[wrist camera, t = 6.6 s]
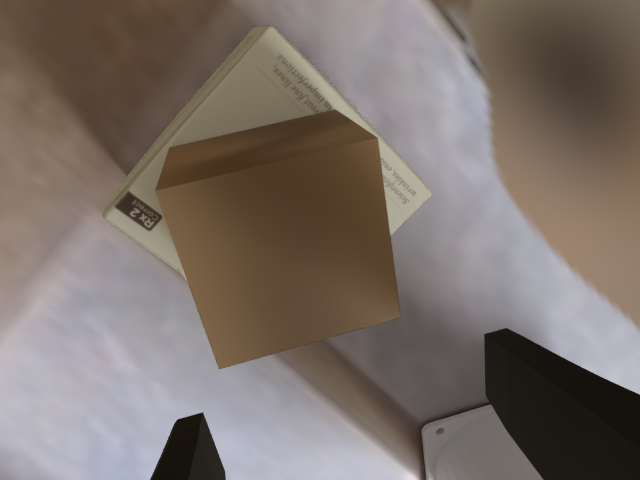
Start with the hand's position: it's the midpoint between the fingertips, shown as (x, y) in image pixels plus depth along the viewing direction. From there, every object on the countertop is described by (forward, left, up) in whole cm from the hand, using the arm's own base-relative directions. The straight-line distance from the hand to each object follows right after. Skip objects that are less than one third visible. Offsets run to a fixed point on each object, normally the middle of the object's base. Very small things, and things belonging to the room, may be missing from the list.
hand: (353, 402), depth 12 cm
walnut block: (+1, -4, -5) cm, 6 cm away
